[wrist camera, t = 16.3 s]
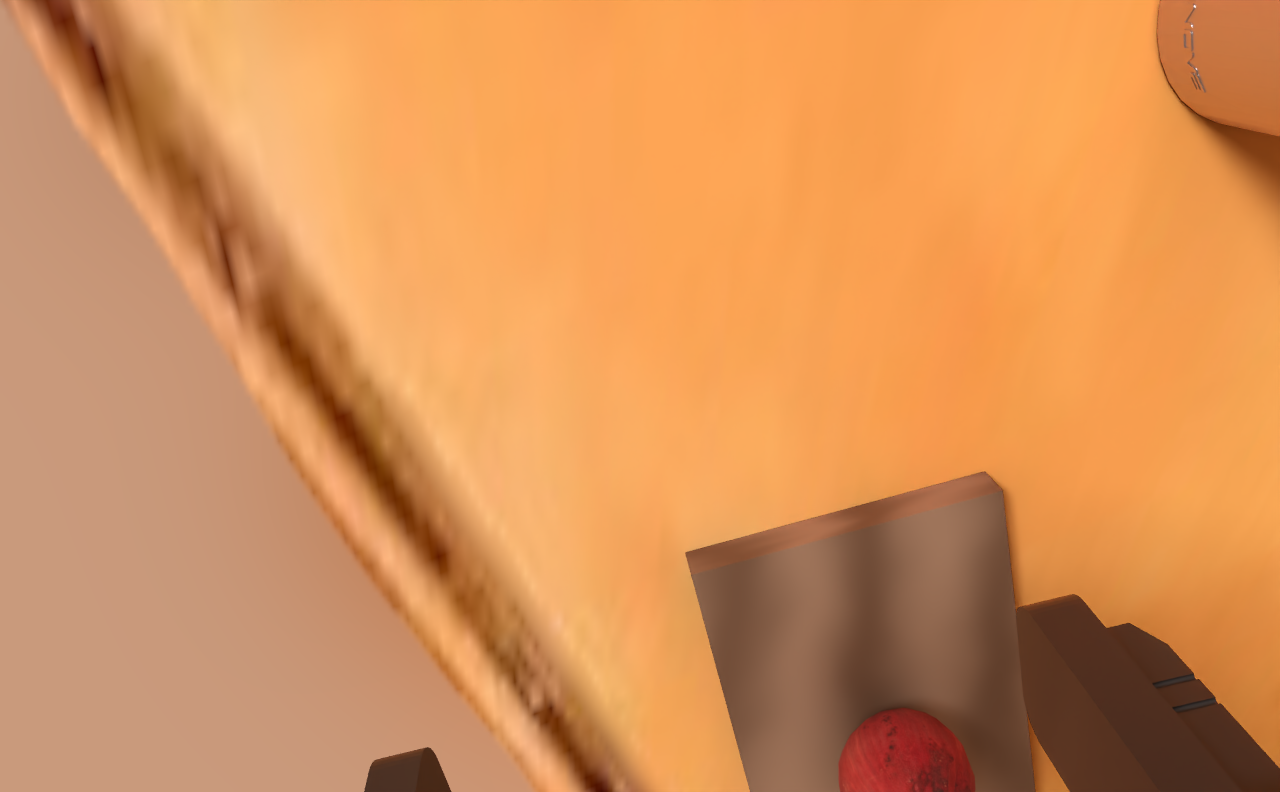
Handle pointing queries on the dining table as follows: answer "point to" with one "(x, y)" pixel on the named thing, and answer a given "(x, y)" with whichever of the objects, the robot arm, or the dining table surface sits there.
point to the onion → (904, 756)
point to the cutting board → (870, 633)
